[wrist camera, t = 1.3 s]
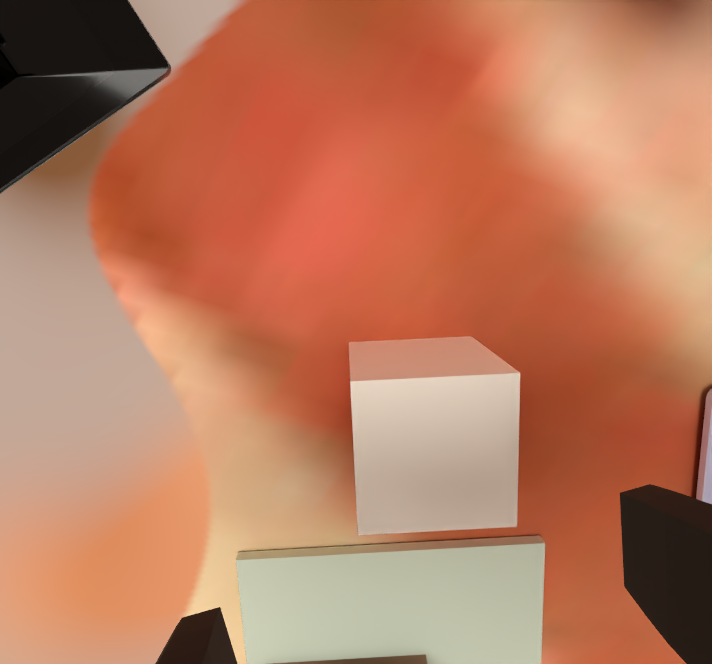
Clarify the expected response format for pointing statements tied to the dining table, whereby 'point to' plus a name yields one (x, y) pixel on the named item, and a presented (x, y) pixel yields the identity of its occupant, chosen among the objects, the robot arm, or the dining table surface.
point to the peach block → (433, 435)
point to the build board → (396, 601)
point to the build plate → (67, 74)
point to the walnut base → (372, 660)
